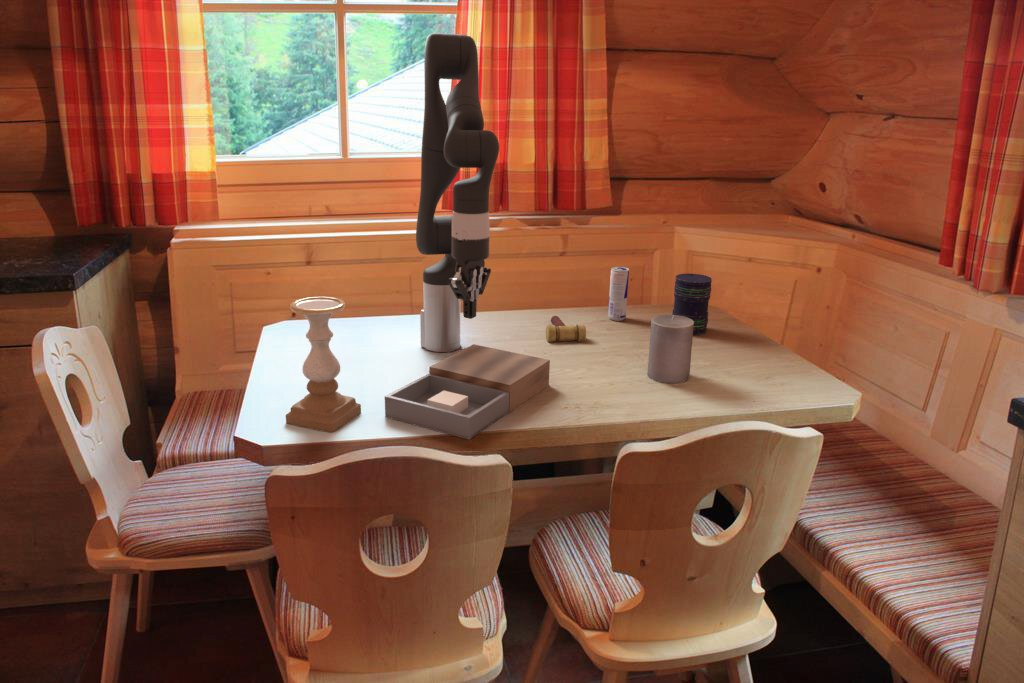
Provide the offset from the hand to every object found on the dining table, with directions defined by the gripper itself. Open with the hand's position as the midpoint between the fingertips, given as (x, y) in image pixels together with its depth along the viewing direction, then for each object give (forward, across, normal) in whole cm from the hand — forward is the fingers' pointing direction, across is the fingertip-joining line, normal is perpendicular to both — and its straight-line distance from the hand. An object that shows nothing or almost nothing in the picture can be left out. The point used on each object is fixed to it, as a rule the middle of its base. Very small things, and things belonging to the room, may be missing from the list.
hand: (469, 317), depth 164 cm
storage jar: (+19, -75, +24) cm, 81 cm away
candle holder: (+19, +23, -20) cm, 36 cm away
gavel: (+20, -55, -6) cm, 59 cm away
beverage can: (+20, -74, +3) cm, 77 cm away
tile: (+16, +7, 0) cm, 17 cm away
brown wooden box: (+19, -8, 0) cm, 21 cm away
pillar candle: (+19, -37, +31) cm, 52 cm away
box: (+19, +8, 0) cm, 20 cm away
